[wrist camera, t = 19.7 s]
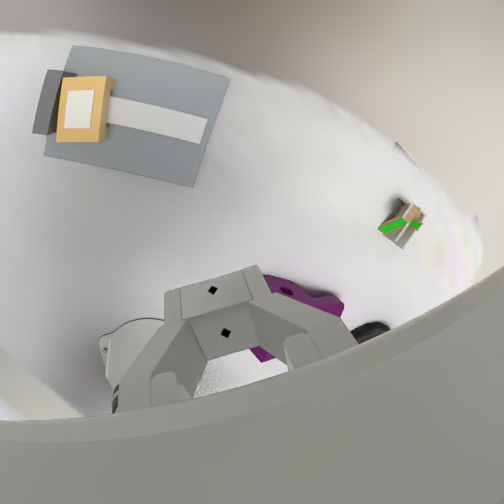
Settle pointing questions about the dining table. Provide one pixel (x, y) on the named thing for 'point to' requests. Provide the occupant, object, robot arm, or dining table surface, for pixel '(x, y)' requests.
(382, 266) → the dining table surface
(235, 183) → the dining table surface
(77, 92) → the module
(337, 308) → the mounting bracket
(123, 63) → the backplate
